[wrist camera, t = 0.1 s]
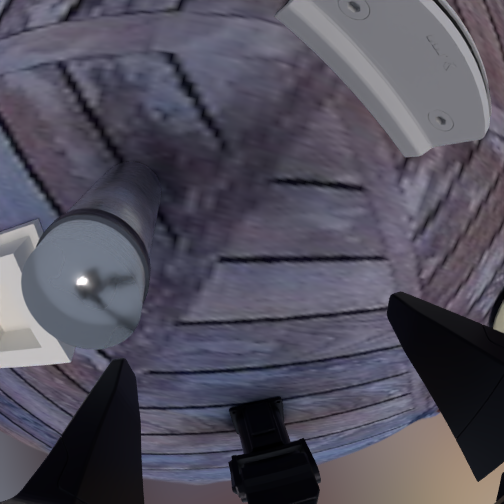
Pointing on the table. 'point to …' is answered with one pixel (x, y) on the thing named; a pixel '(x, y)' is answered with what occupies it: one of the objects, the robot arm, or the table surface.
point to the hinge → (401, 65)
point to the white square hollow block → (23, 306)
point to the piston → (96, 261)
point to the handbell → (499, 319)
